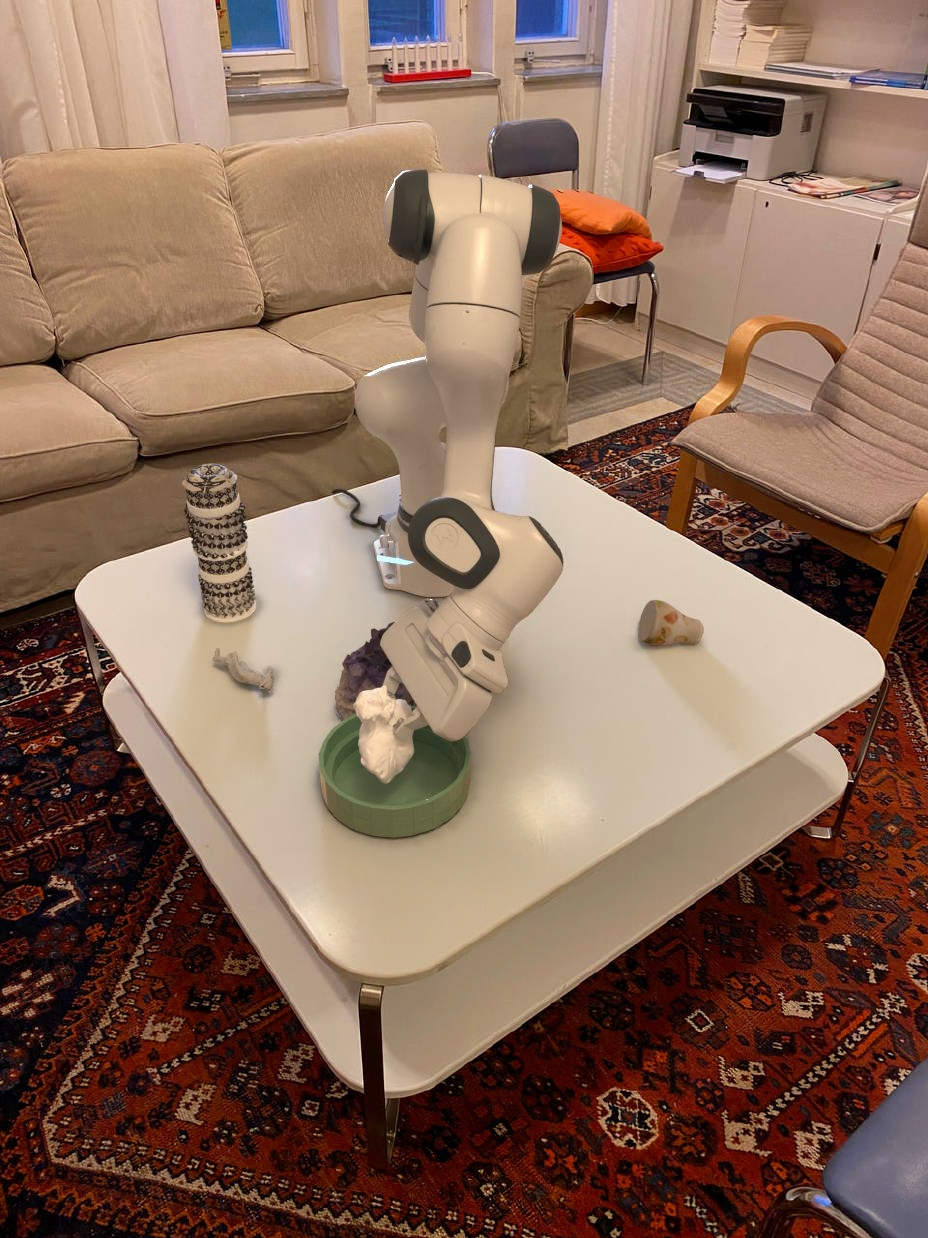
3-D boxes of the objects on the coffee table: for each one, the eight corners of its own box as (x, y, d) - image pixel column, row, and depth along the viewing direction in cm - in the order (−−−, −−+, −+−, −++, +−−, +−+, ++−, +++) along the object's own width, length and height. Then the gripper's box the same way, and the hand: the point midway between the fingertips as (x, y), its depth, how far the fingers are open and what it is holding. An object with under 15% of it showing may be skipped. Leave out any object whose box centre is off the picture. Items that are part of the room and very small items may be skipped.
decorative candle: (219, 631, 152) (195, 490, 137) (191, 606, 157) (166, 469, 143) (269, 610, 156) (251, 472, 142) (240, 586, 162) (220, 452, 148)
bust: (401, 734, 126) (348, 674, 122) (444, 719, 122) (391, 657, 117) (369, 802, 117) (310, 741, 113) (414, 789, 113) (355, 724, 108)
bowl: (304, 757, 128) (301, 727, 125) (436, 720, 134) (436, 690, 131) (349, 860, 113) (346, 828, 110) (494, 812, 120) (495, 781, 117)
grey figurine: (246, 659, 147) (297, 666, 140) (237, 689, 146) (287, 698, 139) (207, 643, 141) (258, 651, 134) (196, 675, 140) (247, 684, 133)
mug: (710, 655, 148) (690, 616, 141) (650, 669, 152) (628, 632, 145) (706, 618, 153) (687, 579, 146) (648, 633, 156) (626, 596, 150)
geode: (379, 641, 150) (385, 589, 144) (447, 665, 147) (456, 613, 141) (319, 717, 133) (323, 661, 128) (394, 745, 131) (402, 690, 125)
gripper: (413, 581, 120) (344, 661, 123) (480, 672, 105) (400, 762, 107) (445, 602, 124) (378, 679, 127) (514, 693, 109) (437, 779, 111)
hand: (389, 718), depth 117 cm, fingers closed on bust, 5 cm apart
